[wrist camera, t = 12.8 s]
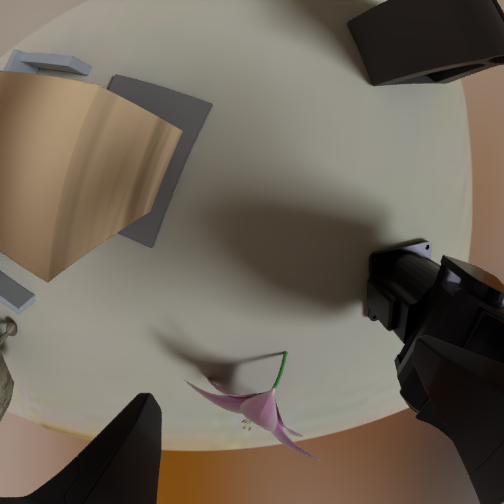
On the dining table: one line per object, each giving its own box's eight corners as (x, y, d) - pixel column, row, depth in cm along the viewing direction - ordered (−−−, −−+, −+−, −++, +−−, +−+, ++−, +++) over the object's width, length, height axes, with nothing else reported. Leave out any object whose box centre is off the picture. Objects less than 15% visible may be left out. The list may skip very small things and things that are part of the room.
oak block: (182, 131, 16) (98, 85, 5) (150, 211, 18) (47, 282, 7) (111, 107, 15) (-9, 70, 4) (84, 183, 17) (-41, 219, 6)
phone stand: (371, 86, 16) (484, 43, 5) (345, 23, 14) (424, -53, 3) (445, 84, 16) (544, 68, 5) (423, 28, 14) (507, -9, 3)
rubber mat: (212, 105, 16) (212, 103, 16) (153, 246, 19) (151, 248, 19) (118, 76, 15) (115, 74, 14) (70, 208, 18) (66, 209, 17)
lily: (189, 316, 23) (146, 416, 16) (329, 316, 18) (310, 453, 11) (238, 374, 30) (216, 447, 23) (340, 378, 25) (327, 464, 18)
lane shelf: (91, 66, 14) (66, 52, 11) (34, 301, 20) (13, 320, 16) (38, 59, 13) (13, 50, 9) (-7, 271, 19) (-29, 286, 15)
